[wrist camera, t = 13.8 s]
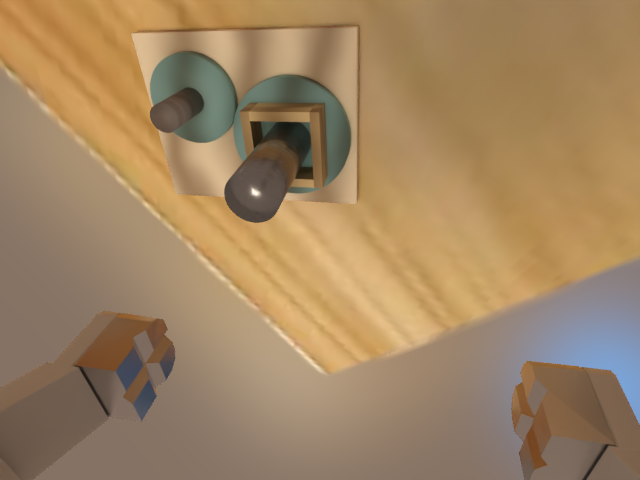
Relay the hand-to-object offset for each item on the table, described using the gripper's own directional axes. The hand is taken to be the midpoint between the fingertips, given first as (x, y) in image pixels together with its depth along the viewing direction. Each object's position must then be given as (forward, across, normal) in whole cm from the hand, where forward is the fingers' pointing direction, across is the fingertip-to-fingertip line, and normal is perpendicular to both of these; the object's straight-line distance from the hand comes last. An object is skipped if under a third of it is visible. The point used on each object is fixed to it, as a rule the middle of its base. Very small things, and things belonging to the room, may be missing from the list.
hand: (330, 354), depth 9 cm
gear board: (+31, +13, +5) cm, 34 cm away
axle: (+29, +9, +6) cm, 31 cm away
